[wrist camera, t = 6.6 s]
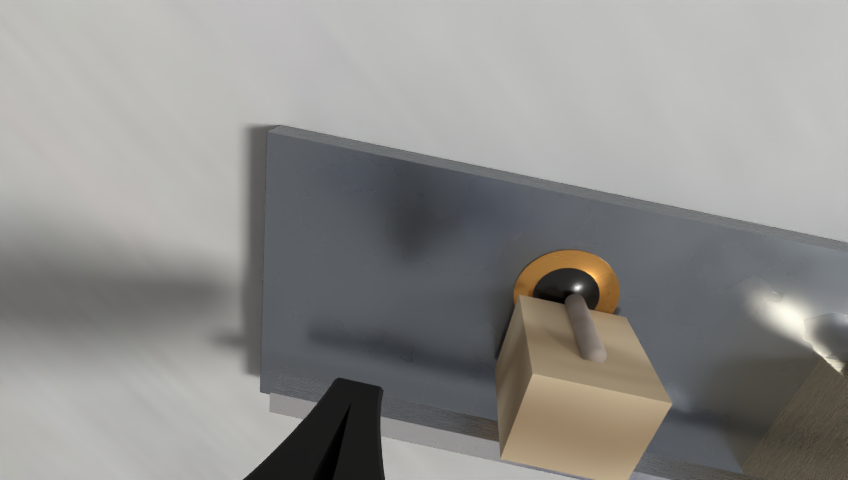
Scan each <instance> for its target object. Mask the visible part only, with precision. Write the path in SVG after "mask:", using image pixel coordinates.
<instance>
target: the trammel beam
mask: <svg viewBox="0 0 848 480" xmlns="http://www.w3.org/2000/svg"><path fill="white" fill-rule="evenodd" d="M330 386H331V385H330V384H325V383H321V382H316V381H311V380H307V379H302V378H297V377H293V376H288V375H284V374H281V375H280V376H279V378H278V380H277V382H276V383H275V385H274V387H273V389H272V390H271V392H270V412H273V413H278V414H282V415H287V416H291V417H296V418H301V419H304V418H305V417H306V416H307V415H308V414H309V413H310V412H311V410H312V409H313V408H314V407H315V406H316V404H317V403H318V402H319V401H320V399H321V398H322V397H323V395H324V394H325V393H326V391H327V390H328V389H329V387H330ZM381 436H383V437H388V438H392V439H397V440H402V441H406V442H411V443H415V444H420V445H424V446H429V447H434V448H438V449H443V450H447V451H452V452H457V453H461V454H466V455H470V456H475V457H480V458H484V459H489V460H493V461H498V462H502V463H507V464H512V465H516V466H521V467H525V468H530V469H535V470H539V471H544V472H548V473H553V474H558V475H562V476H567V477H571V478H576V479H580V480H594V479H590V478H585V477H581V476H576V475H572V474H567V473H562V472H558V471H553V470H549V469H544V468H539V467H535V466H530V465H526V464H521V463H516V462H512V461H507V460H503V459H500V446H499V430H498V421H496V420H491V419H487V418H482V417H477V416H473V415H468V414H464V413H459V412H454V411H450V410H445V409H441V408H436V407H431V406H427V405H422V404H417V403H413V402H408V401H404V400H399V399H394V398H390V397H385V396H383V397H382V403H381ZM741 469H742V471H743V472H744V474H741V473H736V472H731V471H727V470H722V469H718V468H713V467H708V466H704V465H699V464H694V463H690V462H685V461H681V460H676V459H671V458H667V457H662V456H658V455H653V454H648V453H643V455H642V457H641V458H640V460H639V462H638V464H637V465H636V467H635V469H634V470H633V472H632V474H631V476H630V477H629V479H628V480H848V362H843V361H838V360H834V359H829V358H824V357H822V358H821V360H820V361H819V362H818V364H817V365H816V366H815V368H814V369H813V370H812V372H811V373H810V374H809V376H808V377H807V378H806V380H805V381H804V383H803V384H802V385H801V387H800V388H799V389H798V391H797V392H796V393H795V395H794V396H793V397H792V399H791V400H790V401H789V403H788V404H787V406H786V407H785V408H784V410H783V411H782V412H781V414H780V415H779V416H778V418H777V419H776V420H775V422H774V423H773V424H772V426H771V427H770V429H769V430H768V431H767V433H766V434H765V435H764V437H763V438H762V439H761V441H760V442H759V443H758V445H757V446H756V447H755V449H754V450H753V452H752V453H751V454H750V456H749V457H748V458H747V460H746V461H745V462H744V464H743V465H742V466H741Z"/></svg>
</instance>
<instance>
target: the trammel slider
mask: <svg viewBox="0 0 848 480" xmlns="http://www.w3.org/2000/svg"><path fill="white" fill-rule="evenodd" d="M495 381H496V397H497V413H498V430H499V446H500V459H503V460H507V461H512V462H516V463H521V464H526V465H530V466H535V467H539V468H544V469H549V470H553V471H558V472H562V473H567V474H572V475H576V476H581V477H585V478H590V479H594V480H628V479H629V477H630V476H631V474H632V472H633V470H634V469H635V467H636V465H637V464H638V462H639V460H640V458H641V457H642V455H643V453H644V452H645V450H646V448H647V447H648V445H649V443H650V441H651V440H652V438H653V436H654V435H655V433H656V431H657V429H658V428H659V426H660V424H661V423H662V421H663V419H664V417H665V416H666V414H667V412H668V411H669V409H670V407H671V405H672V404H673V403H672V402H671V400H670V398H669V396H668V394H667V392H666V390H665V389H664V387H663V385H662V383H661V381H660V379H659V377H658V376H657V374H656V372H655V370H654V368H653V366H652V364H651V363H650V361H649V359H648V357H647V355H646V353H645V351H644V350H643V348H642V346H641V344H640V342H639V340H638V338H637V337H636V335H635V333H634V331H633V329H632V327H631V325H630V323H629V322H628V320H627V318H626V317H623V316H618V315H613V314H608V313H604V312H599V311H594V310H590V309H588V307H587V305H586V302H585V300H584V298H583V297H582V296H581V295H579V294H572V295H569V296H568V297H567V298H566V299H565V304H561V303H557V302H552V301H547V300H542V299H538V298H533V297H528V296H524V295H519V296H518V299H517V302H516V305H515V309H514V312H513V315H512V318H511V321H510V324H509V327H508V330H507V333H506V336H505V339H504V342H503V345H502V348H501V351H500V354H499V357H498V360H497V363H496V366H495Z"/></svg>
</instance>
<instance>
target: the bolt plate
mask: <svg viewBox="0 0 848 480" xmlns="http://www.w3.org/2000/svg"><path fill="white" fill-rule="evenodd" d="M572 294H579V295H581V296H582V297H583V298H584V300H585V302H586V305H587V307H588V309H590V310H594V311H599V312H604V313H608V314H613V315H618V316H623V317H626V318H627V320H628V322H629V323H630V325H631V327H632V329H633V331H634V333H635V335H636V337H637V338H638V340H639V342H640V344H641V346H642V348H643V350H644V351H645V353H646V355H647V357H648V359H649V361H650V363H651V364H652V366H653V368H654V370H655V372H656V374H657V376H658V377H659V379H660V381H661V383H662V385H663V387H664V389H665V390H666V392H667V394H668V396H669V398H670V400H671V402H672V403H673V404H672V405H671V407H670V409H669V411H668V412H667V414H666V416H665V417H664V419H663V421H662V423H661V424H660V426H659V428H658V429H657V431H656V433H655V435H654V436H653V438H652V440H651V441H650V443H649V445H648V447H647V448H646V450H645V452H644V453H648V454H653V455H658V456H662V457H667V458H671V459H676V460H681V461H685V462H690V463H694V464H699V465H704V466H708V467H713V468H718V469H722V470H727V471H731V472H736V473H741V474H744V472H743V471H742V469H741V466H742V465H743V464H744V462H745V461H746V460H747V458H748V457H749V456H750V454H751V453H752V452H753V450H754V449H755V447H756V446H757V445H758V443H759V442H760V441H761V439H762V438H763V437H764V435H765V434H766V433H767V431H768V430H769V429H770V427H771V426H772V424H773V423H774V422H775V420H776V419H777V418H778V416H779V415H780V414H781V412H782V411H783V410H784V408H785V407H786V406H787V404H788V403H789V401H790V400H791V399H792V397H793V396H794V395H795V393H796V392H797V391H798V389H799V388H800V387H801V385H802V384H803V383H804V381H805V380H806V378H807V377H808V376H809V374H810V373H811V372H812V370H813V369H814V368H815V366H816V365H817V364H818V362H819V361H820V360H821V358H822V357H824V358H829V359H834V360H838V361H843V362H848V243H846V242H841V241H836V240H832V239H827V238H822V237H817V236H812V235H808V234H803V233H798V232H793V231H788V230H784V229H779V228H774V227H769V226H764V225H760V224H755V223H750V222H745V221H740V220H735V219H731V218H726V217H721V216H716V215H711V214H707V213H702V212H697V211H692V210H687V209H683V208H678V207H673V206H668V205H663V204H659V203H654V202H649V201H644V200H639V199H634V198H630V197H625V196H620V195H615V194H610V193H606V192H601V191H596V190H591V189H586V188H582V187H577V186H572V185H567V184H562V183H557V182H553V181H548V180H543V179H538V178H533V177H529V176H524V175H519V174H514V173H509V172H505V171H500V170H495V169H490V168H485V167H481V166H476V165H471V164H466V163H461V162H456V161H452V160H447V159H442V158H437V157H432V156H428V155H423V154H418V153H413V152H408V151H404V150H399V149H394V148H389V147H384V146H379V145H375V144H370V143H365V142H360V141H355V140H351V139H346V138H341V137H336V136H331V135H327V134H322V133H317V132H312V131H307V130H303V129H298V128H293V127H288V126H283V125H280V126H278V127H276V128H274V129H271V130H269V131H267V150H266V187H265V225H264V263H263V301H262V338H261V376H260V392H261V393H266V394H270V392H271V390H272V389H273V387H274V385H275V383H276V382H277V380H278V378H279V376H280V375H281V374H284V375H288V376H293V377H297V378H302V379H307V380H311V381H316V382H321V383H325V384H330V385H331V384H332V383H333V381H334V380H335V379H337V378H339V377H340V378H344V379H349V380H353V381H358V382H362V383H367V384H371V385H376V386H380V387H381V388H382V389H383V390H384V392H383V396H385V397H390V398H394V399H399V400H404V401H408V402H413V403H417V404H422V405H427V406H431V407H436V408H441V409H445V410H450V411H454V412H459V413H464V414H468V415H473V416H477V417H482V418H487V419H491V420H496V421H498V413H497V397H496V381H495V366H496V363H497V360H498V357H499V354H500V351H501V348H502V345H503V342H504V339H505V336H506V333H507V330H508V327H509V324H510V321H511V318H512V315H513V312H514V309H515V305H516V302H517V299H518V296H519V295H524V296H528V297H533V298H538V299H542V300H547V301H552V302H557V303H561V304H565V299H566V298H567V297H568V296H569V295H572Z"/></svg>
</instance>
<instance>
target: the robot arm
mask: <svg viewBox="0 0 848 480" xmlns="http://www.w3.org/2000/svg"><path fill="white" fill-rule="evenodd" d="M383 392H384V390H383V389H382V388H381V387H380V386H376V385H371V384H367V383H362V382H358V381H353V380H349V379H344V378H340V377H339V378H337V379H335V380H334V381H333V383H332V384H331V386H330V387H329V389H328V390H327V391H326V393H325V394H324V395H323V397H322V398H321V399H320V401H319V402H318V403H317V404H316V406H315V407H314V408H313V409H312V410H311V412H310V413H309V414H308V415H307V416H306V417H305V418H304V420H303V421H302V422H301V423H300V424H299V425H298V426H297V428H296V429H295V430H294V431H293V432H292V433H291V434H290V435H289V436H288V437H287V438H286V439H285V440H284V441H283V442H282V443H281V444H280V445H279V446H278V447H277V448H276V449H275V450H274V451H273V452H272V453H271V454H270V455H269V456H268V457H267V458H266V459H265V460H264V461H263V462H262V463H261V464H260V465H259V466H258V467H257V468H256V469H255V470H253V471H252V472H251V473H250V474H249V475H248V476H247V477H246V478H244V479H243V480H385V476H384V469H383V459H382V447H381V403H382V397H383Z"/></svg>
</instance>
